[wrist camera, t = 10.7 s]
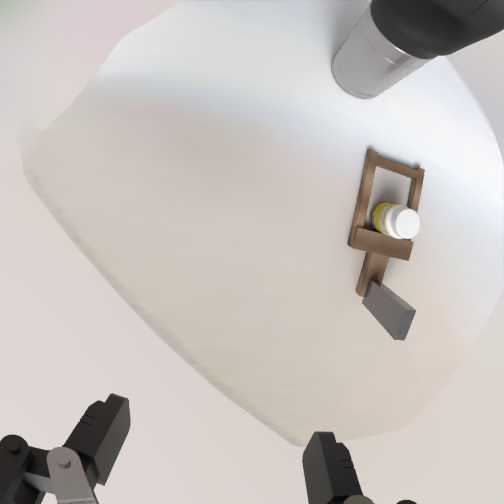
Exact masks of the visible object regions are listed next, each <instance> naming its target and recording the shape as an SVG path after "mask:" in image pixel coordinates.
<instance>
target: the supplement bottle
mask: <svg viewBox="0 0 504 504" xmlns="http://www.w3.org/2000/svg"><path fill="white" fill-rule="evenodd" d="M370 222H371V225H372V227H373V228H374V229H375V230H376V231H378V232H380V233H383V234H386V235H388V236H391V237H393V238H396V239H403V238H404V239H410V238H413V237H414V236H415V235H416V234H417V233H418V231H419V229H420V218H419V215H418V214H417V213H416V211H414V210H412V209H409V208H408V207H406V206H404V205H400V204H392V203H379V204H377V205H375V206H374V207H373V209H372V211H371V214H370Z"/></svg>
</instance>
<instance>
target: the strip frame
mask: <svg viewBox="0 0 504 504" xmlns="http://www.w3.org/2000/svg"><path fill="white" fill-rule="evenodd" d="M377 155H378V152H375V151H372V150H370V151H367V154H366V160H365V166H364V171H363V177H362V182H361V187H360V192H359V197H358V202H357V206H356V211H355V216H354V220H353V224H352V229H351V233H350V237H349V241H348V245H349V246H350V247H352V248H354V249H359V250H363V251H367V254H366V258H365V261H364V265H363V269H362V272H361V276H360V279H359V283H358V286H357V289H356V293H357V294H358V295H359V296H362V297H364V298H363V301H362V303H363V304H364V306H365V307H366V308H367V309H368V310H369V311H370V312H371V313H372V315H373V316H374V317H375V318H376V319H377V320H378V321H379V323H380V324H381V325H382V326H383V327H384V328H385V329H386V331H387V332H388V333H389V334H390V335H391V336H392V338H393V339H394V340H405V338H406V335H407V333H408V330H409V328H410V325H411V323H412V320H413V318H414V315H415V312H416V310H415V309H414V308H412V307H411V306H410V305H409V304H407V303H406V302H405V301H404V300H403V299H401V298H400V297H399V296H398V295H396V294H395V293H394V292H393V291H391V290H390V289H389V288H388V287H386V286H385V285H384V284H383V283H382V279H383V276H384V273H385V269H386V266H387V262H388V258H389V256H390V257H394V258H399V259H403V260H407V261H409V257H410V254H411V250H412V246H413V242H412V241H411V238H410V239H404V238H403V239H396V238H393V237H391V236H388V235H386V234H383V233H380V232H376V231H372V230H368V229H364V228H363V226H364V221H365V217H366V212H367V208H368V203H369V198H370V193H371V188H372V183H373V178H374V173H375V167H376V166H378V167H381V168H384V169H387V170H390V171H393V172H396V173H399V174H401V175H404V176H407V177H410V178H412V184H411V190H410V195H409V200H408V205H407V207H408V208H409V209H412V210H414V211H416V213H417V210H418V205H419V200H420V195H421V189H422V184H423V178H424V171H425V170H424V169H421V168H414V169H411V168H409V167H406V166H403V165H401V164H398V163H395V162H392V161H390V160H387V159H384V158H381V157H378V156H377Z"/></svg>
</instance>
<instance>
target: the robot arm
mask: <svg viewBox="0 0 504 504" xmlns="http://www.w3.org/2000/svg"><path fill="white" fill-rule="evenodd" d="M503 29H504V0H372V2H371V3H370V5H369V6H368V8H367V9H366V11H365V12H364V14H363V15H362V17H361V18H360V20H359V21H358V23H357V24H356V26H355V27H354V29H353V30H352V32H351V33H350V35H349V36H348V38H347V39H346V41H345V42H344V44H343V45H342V46H341V48H340V49H339V51H338V52H337V54H336V56H335V57H334V59H333V61H332V73H333V76H334V78H335V80H336V82H337V83H338V85H339V86H340V87H341V88H342V89H343V90H344V91H345V92H347V93H349V94H350V95H352V96H355V97H357V98H362V99H370V98H374V97H376V96H378V95H379V94H381V93H382V92H384V91H385V90H387V89H388V88H390V87H391V86H393V85H394V84H396V83H397V82H399V81H400V80H402V79H403V78H405V77H406V76H408V75H409V74H411V73H412V72H414V71H415V70H417V69H418V68H420V67H421V66H423V65H424V64H426V63H427V62H429V61H430V60H432V59H434V58H435V57H437V56H438V55H439V56H443V55H449V54H452V53H454V52H456V51H458V50H460V49H462V48H464V47H466V46H468V45H471V44H473V43H475V42H478V41H480V40H482V39H485V38H487V37H490V36H492V35H494V34H496V33H498V32H500V31H502V30H503ZM129 429H130V411H129V400H128V398H124V397H121V396H118V395H115V394H113V393H112V394H110V395H109V397H108V399H107V400H106V402H102V401H99V400H98V401H96V402H95V403H93V404H92V405H90V406H89V407H88V409H87V410H86V412H85V413H84V415H83V416H82V418H81V419H80V422H78V424H77V425H76V427H75V429H74V430H73V432H72V433H71V435H70V436H69V438H68V439H67V441H66V443H65V444H64V445H63V446H62V447H57V448H54V449H52V450H43V449H39V448H35V447H30V446H28V444H27V442H26V441H25V440H24V439H23V438H22V437H20V436H18V435H8V436H5V437H4V438H3V439H2V440H1V441H0V504H41V502H42V500H43V498H44V496H45V494H46V492H48V493H52V494H55V496H56V499H57V503H58V504H99V502H98V500H97V497H96V495H95V492H94V487H95V486H96V484H97V483H98V484H101V485H103V486H104V485H105V483H106V481H107V479H108V476H109V474H110V472H111V470H112V467H113V465H114V463H115V461H116V459H117V456H118V454H119V452H120V450H121V447H122V445H123V443H124V441H125V439H126V437H127V434H128V432H129ZM302 463H303V469H304V475H305V481H306V488H307V495H308V501H309V504H374V503H373V502H372V500H371V499H369V498H368V497H366V496H364V495H363V493H362V491H361V487H360V484H359V481H358V478H357V475H356V471H355V469H354V465H353V462H352V461H351V456H350V453H349V450H348V449H347V448H346V447H345V446H344V444H343V443H336V440H335V436H334V434H333V432H317V431H316V432H314V434H313V436H312V438H311V439H310V441H309V443H308V445H307V447H306V449H305V451H304V453H303V460H302ZM397 504H416V503H415V502H413V501H411V500H402V501H399V502H398V503H397Z"/></svg>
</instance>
